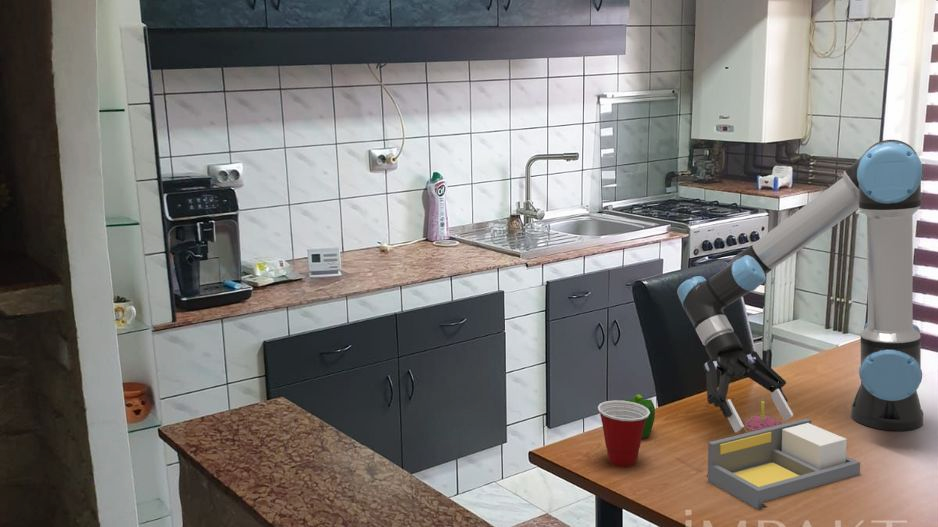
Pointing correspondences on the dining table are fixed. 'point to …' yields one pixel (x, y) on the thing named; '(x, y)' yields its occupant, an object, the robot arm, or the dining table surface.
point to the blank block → (814, 446)
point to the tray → (767, 467)
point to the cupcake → (760, 421)
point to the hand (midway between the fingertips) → (764, 424)
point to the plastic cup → (623, 430)
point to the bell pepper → (651, 417)
